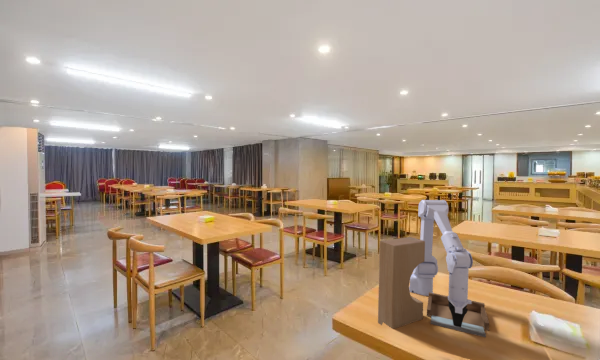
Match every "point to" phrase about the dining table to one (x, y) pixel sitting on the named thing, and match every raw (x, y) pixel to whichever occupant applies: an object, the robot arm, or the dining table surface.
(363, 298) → the dining table surface
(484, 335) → the panel
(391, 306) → the decorative block
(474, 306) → the tray
